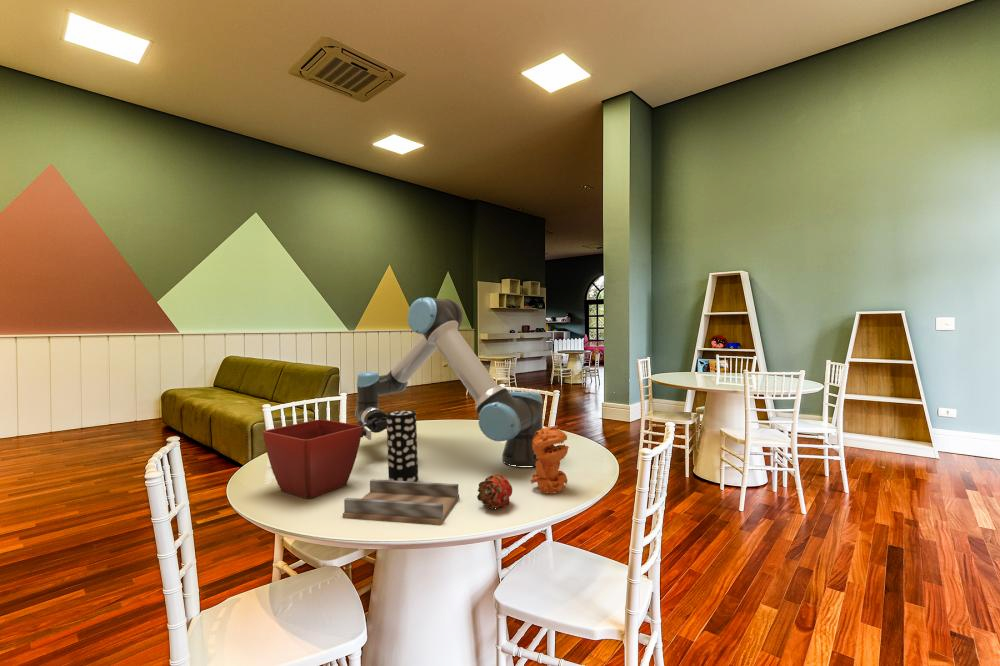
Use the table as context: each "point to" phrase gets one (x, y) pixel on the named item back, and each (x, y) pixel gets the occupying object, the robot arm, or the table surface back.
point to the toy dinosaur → (549, 459)
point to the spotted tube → (402, 445)
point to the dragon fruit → (495, 491)
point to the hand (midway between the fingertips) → (392, 432)
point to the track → (404, 502)
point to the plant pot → (312, 455)
